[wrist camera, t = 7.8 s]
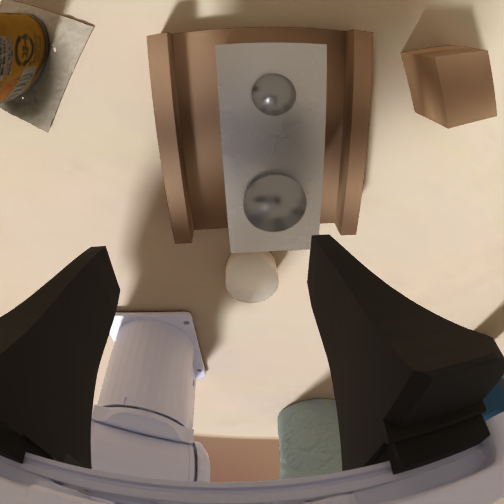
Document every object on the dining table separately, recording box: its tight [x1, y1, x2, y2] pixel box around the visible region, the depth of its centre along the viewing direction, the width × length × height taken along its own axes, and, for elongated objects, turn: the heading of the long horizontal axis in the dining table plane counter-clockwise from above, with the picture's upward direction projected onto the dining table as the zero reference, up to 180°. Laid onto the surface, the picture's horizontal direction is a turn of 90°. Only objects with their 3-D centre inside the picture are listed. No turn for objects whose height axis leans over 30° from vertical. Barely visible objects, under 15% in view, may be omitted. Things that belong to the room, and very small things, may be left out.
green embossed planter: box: [278, 398, 342, 480], centre depth 33 cm, size 10×10×12 cm
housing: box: [215, 43, 327, 253], centre depth 14 cm, size 4×9×6 cm, turn 2°
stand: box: [147, 27, 373, 244], centre depth 17 cm, size 12×11×2 cm
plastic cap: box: [226, 251, 279, 303], centre depth 23 cm, size 4×4×2 cm
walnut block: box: [401, 45, 497, 128], centre depth 14 cm, size 4×4×4 cm
